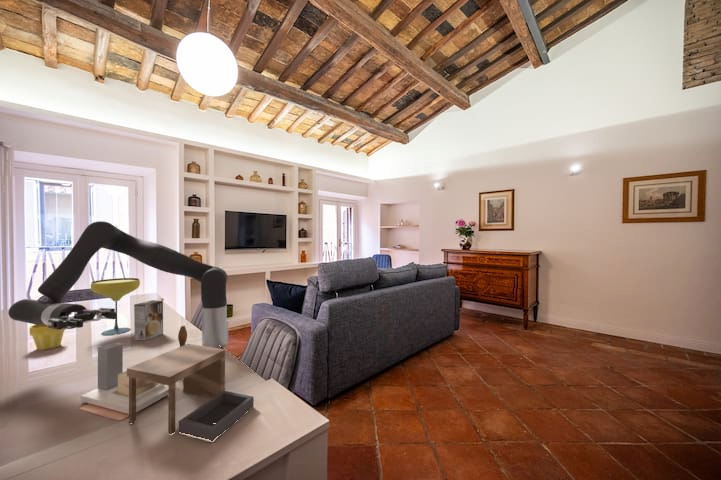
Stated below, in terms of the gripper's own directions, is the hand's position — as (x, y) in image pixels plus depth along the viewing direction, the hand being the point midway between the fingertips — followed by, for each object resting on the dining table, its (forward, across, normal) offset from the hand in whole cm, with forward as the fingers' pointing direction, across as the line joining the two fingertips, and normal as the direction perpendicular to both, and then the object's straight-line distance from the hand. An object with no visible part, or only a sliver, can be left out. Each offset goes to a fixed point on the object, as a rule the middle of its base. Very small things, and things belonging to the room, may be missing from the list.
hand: (99, 319), depth 85 cm
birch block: (+16, 0, +20) cm, 25 cm away
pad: (+14, 0, +22) cm, 26 cm away
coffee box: (-32, +38, +22) cm, 54 cm away
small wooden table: (+32, 0, +22) cm, 38 cm away
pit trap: (+45, 0, +22) cm, 50 cm away
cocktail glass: (-54, +38, +21) cm, 70 cm away
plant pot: (-59, +16, +21) cm, 65 cm away
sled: (+13, 0, +21) cm, 25 cm away
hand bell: (+14, +16, +22) cm, 30 cm away
